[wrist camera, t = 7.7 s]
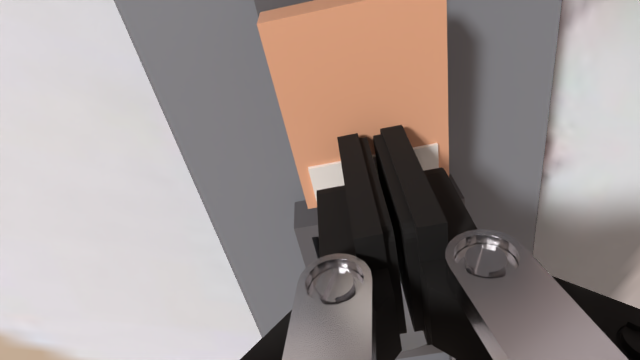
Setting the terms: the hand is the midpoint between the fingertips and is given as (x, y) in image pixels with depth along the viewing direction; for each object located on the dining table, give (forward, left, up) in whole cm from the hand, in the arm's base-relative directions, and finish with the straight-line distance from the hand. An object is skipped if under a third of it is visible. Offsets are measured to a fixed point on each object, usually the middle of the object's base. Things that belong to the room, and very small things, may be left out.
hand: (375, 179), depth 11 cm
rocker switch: (-2, 0, -1) cm, 2 cm away
